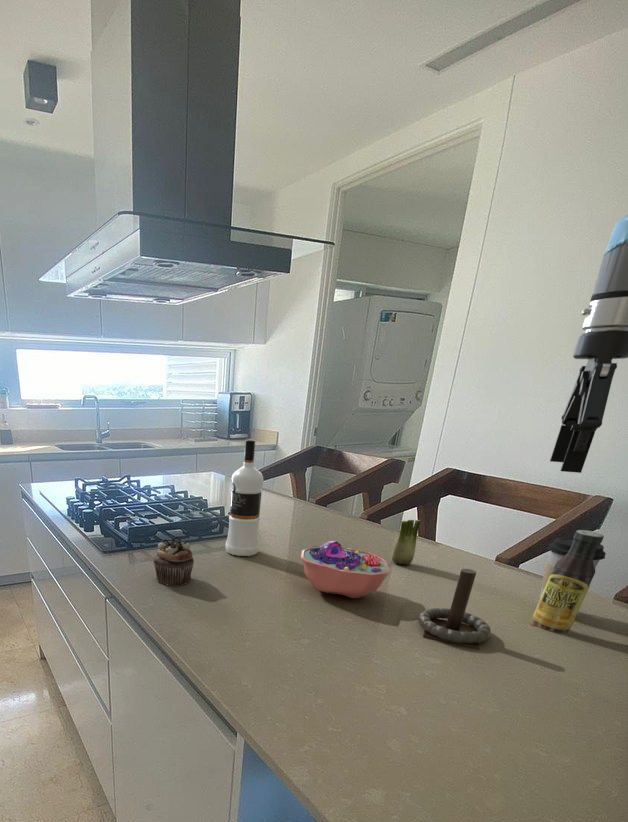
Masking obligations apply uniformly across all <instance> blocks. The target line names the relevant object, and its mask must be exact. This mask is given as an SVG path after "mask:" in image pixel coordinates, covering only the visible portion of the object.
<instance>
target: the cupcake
mask: <svg viewBox="0 0 628 822" xmlns="http://www.w3.org/2000/svg"><path fill="white" fill-rule="evenodd" d="M157 547H158V549H157V550H156V556H155V557H154V558H153V559H152V561H153V566H154V570H155V576H156V581H157V580H158V581H159V582H158V581H157V582H158V583H160V582H161V583H160V584H162V583H164V584H168V585H167V586H169V585H180V586H182V585H181V584H183V585H186V584H185V583H187V582H188V581H189V580H190V581H191V577H192V572H193V568H194V563H195V561H194V558H193V552H192V551H191V549H190V543H188V542H186V541H181V540H180V541H179V538H178V537H174V538H172V539H162V540H161V542H159V543H158V544H157ZM190 581H189V582H190ZM189 582H188V583H189ZM188 583H187V584H188ZM164 584H163V585H164Z"/></svg>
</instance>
